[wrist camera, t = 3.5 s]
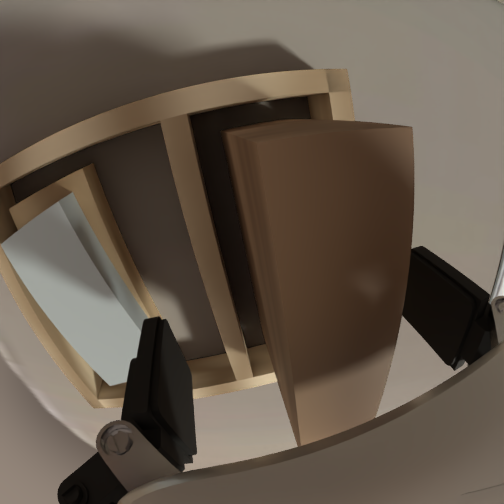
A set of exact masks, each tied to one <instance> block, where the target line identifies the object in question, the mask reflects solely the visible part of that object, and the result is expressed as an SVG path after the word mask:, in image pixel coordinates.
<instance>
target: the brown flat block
mask: <svg viewBox="0 0 504 504" xmlns="http://www.w3.org/2000/svg"><path fill="white" fill-rule="evenodd" d="M220 131H221V136H222V141H223V146H224V151H225V156H226V161H227V166H228V171H229V175H230V180H231V185H232V190H233V195H234V200H235V205H236V209H237V214H238V219H239V224H240V229H241V233H242V238H243V243H244V248H245V253H246V257H247V262H248V267H249V272H250V276H251V281H252V286H253V290H254V295H255V300H256V305H257V309H258V314H259V319H260V323H261V328H262V333H263V336H264V339H265V342H266V346H267V349H268V352H269V356H270V359H271V362H272V365H273V369H274V372H275V375H276V378H277V382H278V385H279V388H280V391H281V394H282V398H283V401H284V404H285V407H286V410H287V414H288V417H289V420H290V423H291V426H292V429H293V433H294V436H295V439H296V442H297V445H298V447H299V446H302V445H306V444H309V443H312V442H315V441H318V440H321V439H324V438H327V437H330V436H332V435H335V434H338V433H341V432H343V431H346V430H348V429H351V428H353V427H356V426H358V425H361V424H363V423H365V422H368V421H370V420H372V419H375V416H376V414H377V411H378V408H379V404H380V401H381V398H382V395H383V392H384V388H385V385H386V381H387V378H388V374H389V370H390V367H391V363H392V359H393V355H394V351H395V346H396V342H397V337H398V333H399V328H400V323H401V318H402V312H403V306H404V301H405V294H406V288H407V281H408V273H409V265H410V255H411V245H412V232H413V215H414V148H413V131H412V127H408V126H401V125H392V124H383V123H373V122H360V121H345V120H320V119H283V120H276V121H269V122H263V123H257V124H251V125H245V126H240V127H235V128H230V129H225V130H220Z"/></svg>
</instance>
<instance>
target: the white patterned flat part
mask: <svg viewBox="0 0 504 504" xmlns="http://www.w3.org/2000/svg"><path fill="white" fill-rule="evenodd" d="M497 296H504V249H503V254H502V258H501V262H500V267H499V271H498V274H497V278H496V281H495V285H494V288H493V291H492V295H491V298H490V301H489V303H490V304H491V302H492V300H493V299H494V298H495V297H497Z"/></svg>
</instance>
